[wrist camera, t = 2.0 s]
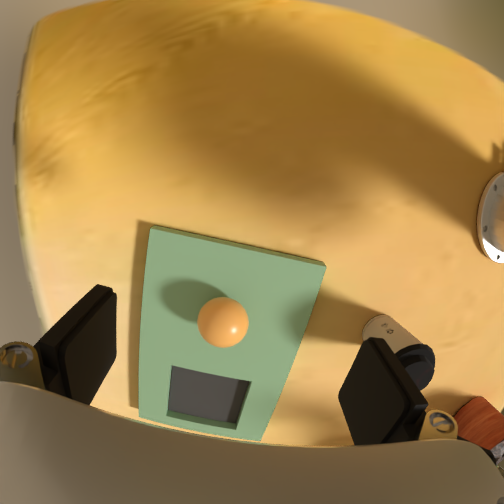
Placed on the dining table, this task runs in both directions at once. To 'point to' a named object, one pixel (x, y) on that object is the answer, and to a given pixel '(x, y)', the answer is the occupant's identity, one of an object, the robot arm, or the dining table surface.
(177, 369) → the mat
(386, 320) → the coffee cup
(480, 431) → the potted plant
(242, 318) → the orange ball
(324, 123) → the dining table surface
